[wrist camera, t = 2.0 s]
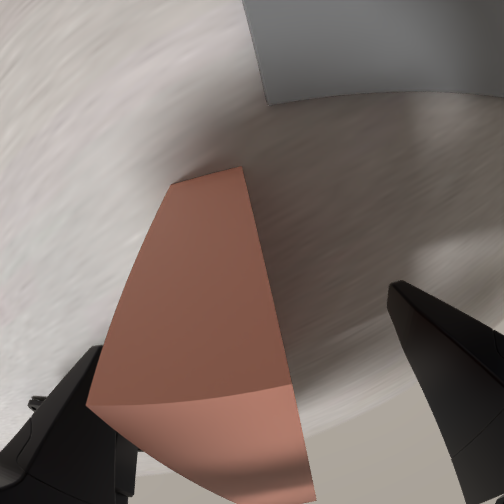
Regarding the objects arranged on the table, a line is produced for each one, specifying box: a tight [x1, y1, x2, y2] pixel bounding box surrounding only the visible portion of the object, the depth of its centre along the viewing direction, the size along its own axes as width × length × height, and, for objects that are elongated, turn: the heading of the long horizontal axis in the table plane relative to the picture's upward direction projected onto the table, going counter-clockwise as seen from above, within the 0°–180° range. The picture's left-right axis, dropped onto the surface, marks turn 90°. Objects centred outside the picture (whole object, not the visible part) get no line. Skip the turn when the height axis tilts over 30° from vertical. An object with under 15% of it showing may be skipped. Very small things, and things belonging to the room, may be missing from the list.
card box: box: [86, 166, 316, 504], centre depth 7 cm, size 2×8×6 cm, turn 12°
